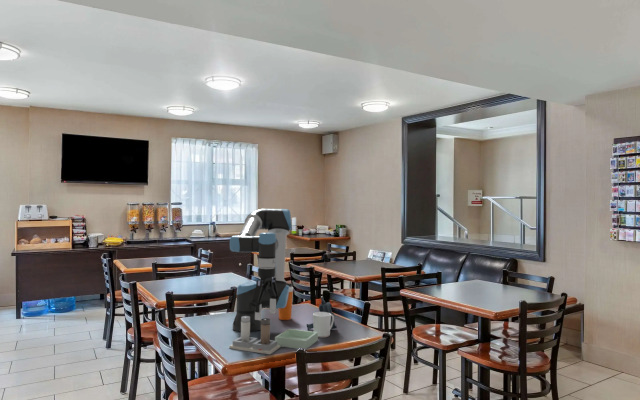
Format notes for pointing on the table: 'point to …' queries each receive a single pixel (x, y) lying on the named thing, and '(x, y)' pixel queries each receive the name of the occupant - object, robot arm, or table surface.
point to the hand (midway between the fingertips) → (265, 316)
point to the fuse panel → (255, 346)
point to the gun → (324, 308)
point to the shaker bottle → (287, 306)
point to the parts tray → (296, 338)
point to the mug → (322, 323)
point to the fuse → (245, 328)
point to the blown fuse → (265, 331)
